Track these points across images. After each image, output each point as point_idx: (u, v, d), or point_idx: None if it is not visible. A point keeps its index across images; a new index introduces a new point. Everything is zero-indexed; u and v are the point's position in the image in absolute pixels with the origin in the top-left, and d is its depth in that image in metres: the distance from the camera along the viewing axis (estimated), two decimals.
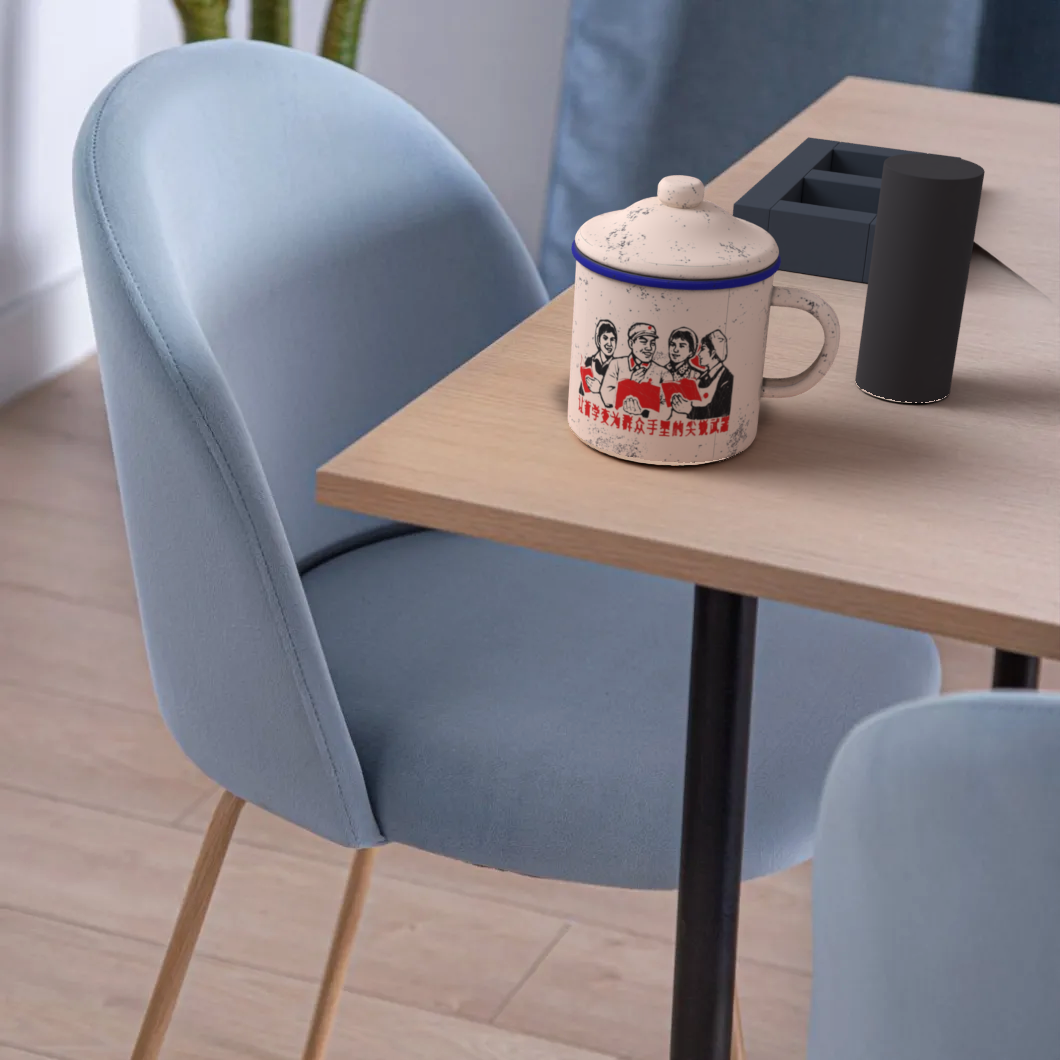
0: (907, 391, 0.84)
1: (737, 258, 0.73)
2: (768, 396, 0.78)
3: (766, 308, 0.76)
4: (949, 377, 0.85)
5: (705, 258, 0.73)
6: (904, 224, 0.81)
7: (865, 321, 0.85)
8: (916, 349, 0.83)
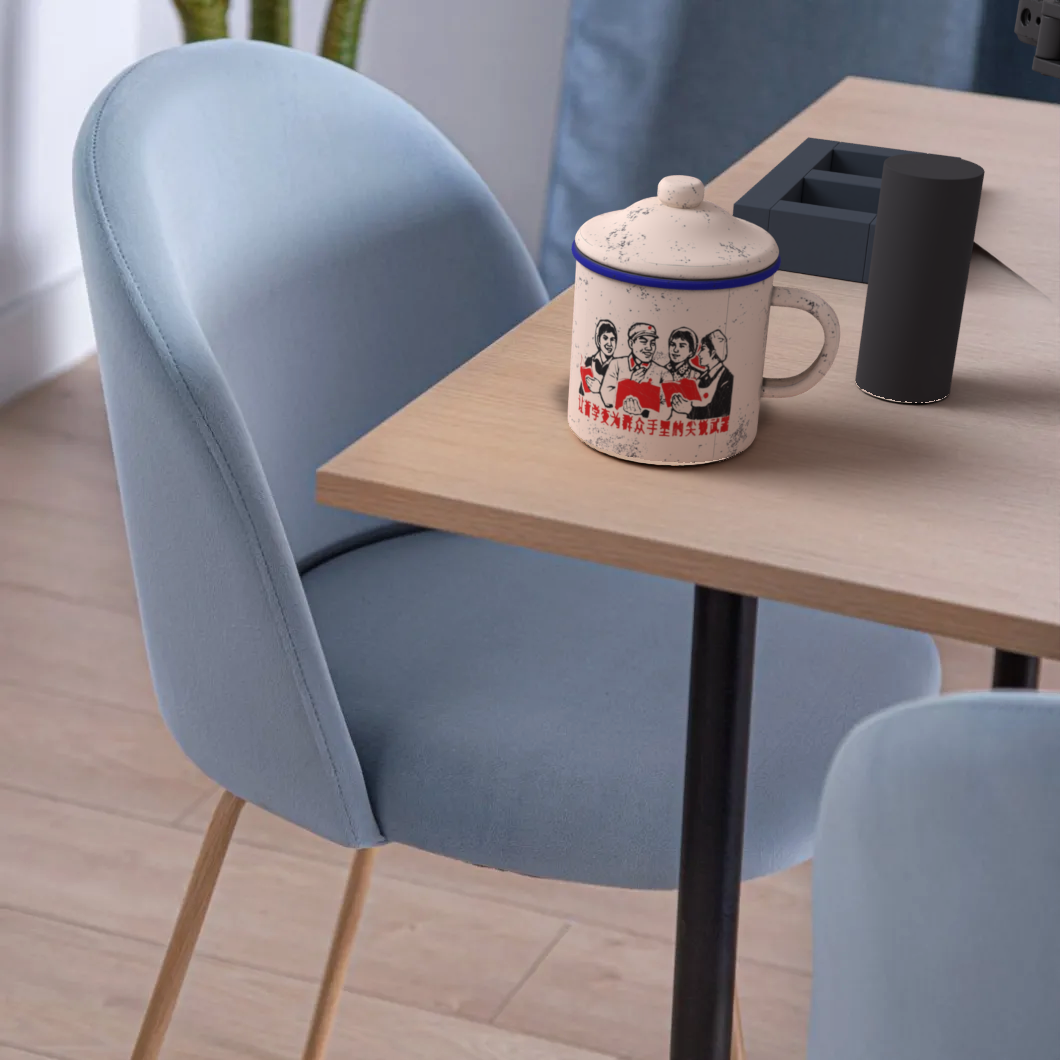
0: (907, 391, 0.84)
1: (737, 258, 0.73)
2: (768, 396, 0.78)
3: (766, 308, 0.76)
4: (949, 377, 0.85)
5: (705, 258, 0.73)
6: (904, 224, 0.81)
7: (865, 321, 0.85)
8: (916, 349, 0.83)
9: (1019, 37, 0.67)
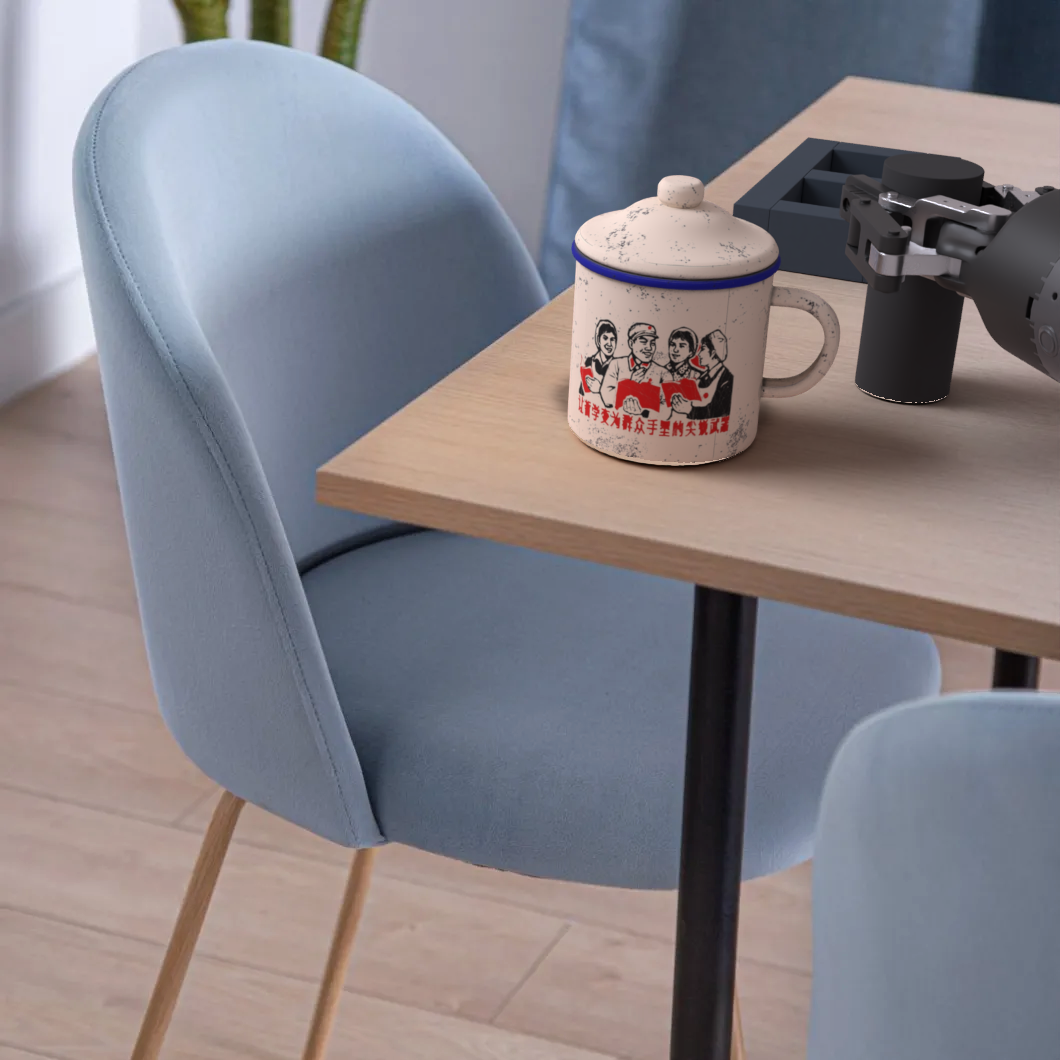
0: (906, 390, 0.84)
1: (737, 258, 0.73)
2: (768, 396, 0.78)
3: (766, 308, 0.76)
4: (949, 377, 0.85)
5: (705, 258, 0.73)
6: (904, 224, 0.81)
7: (865, 321, 0.85)
8: (916, 349, 0.83)
9: None
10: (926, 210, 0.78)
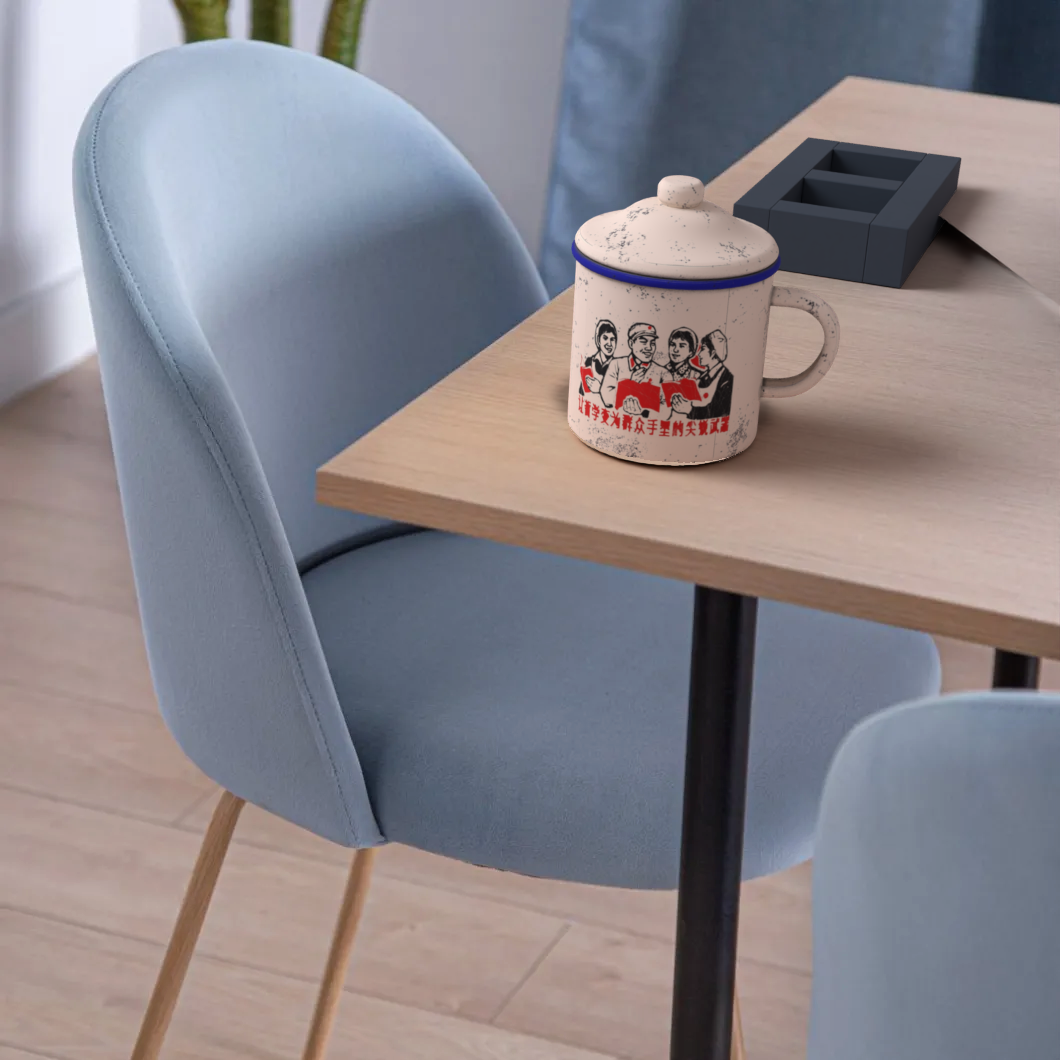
0: None
1: (737, 258, 0.73)
2: (768, 396, 0.78)
3: (766, 308, 0.76)
4: None
5: (705, 258, 0.73)
6: None
7: None
8: None
9: None
10: None
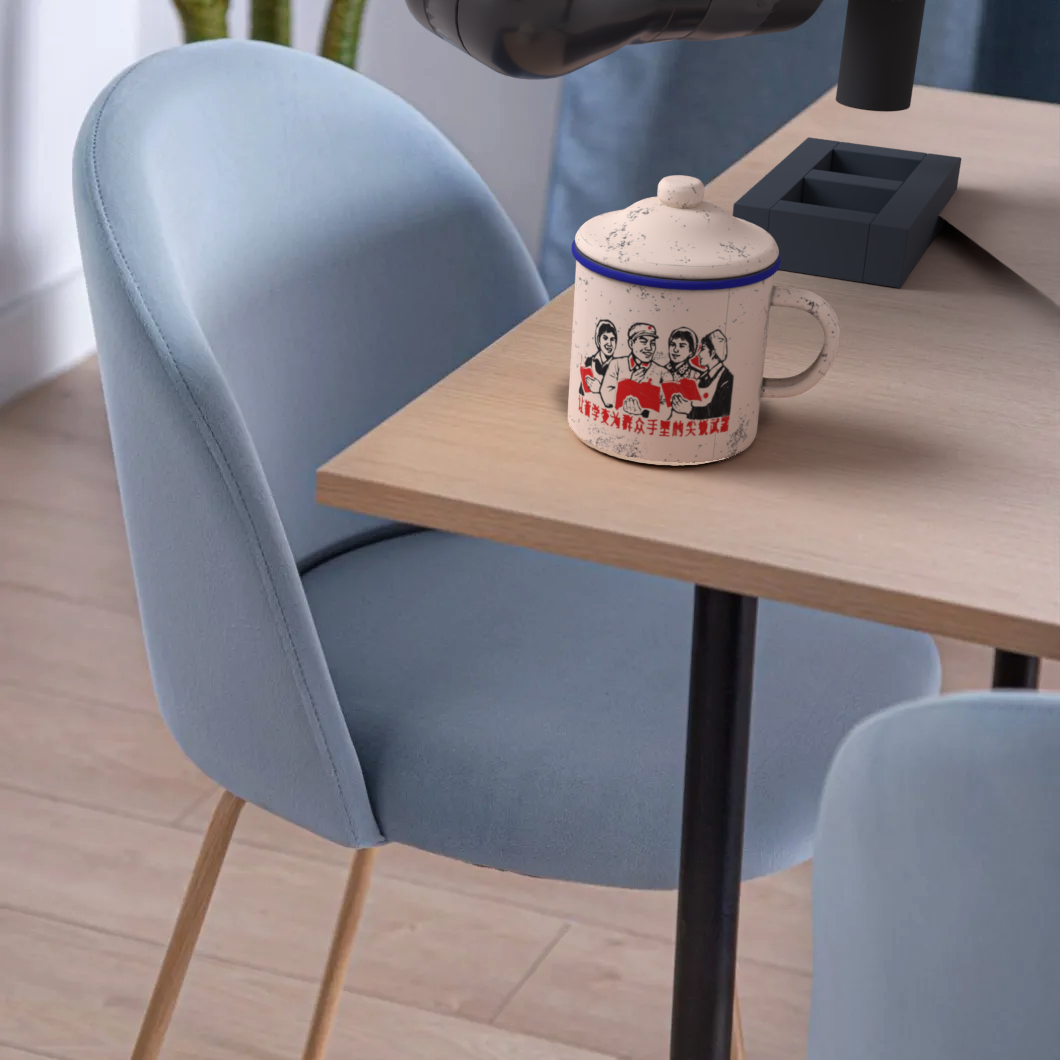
0: (839, 92, 1.09)
1: (737, 258, 0.73)
2: (768, 396, 0.78)
3: (766, 308, 0.76)
4: (872, 93, 1.07)
5: (705, 258, 0.73)
6: None
7: None
8: (845, 57, 1.08)
9: None
10: None
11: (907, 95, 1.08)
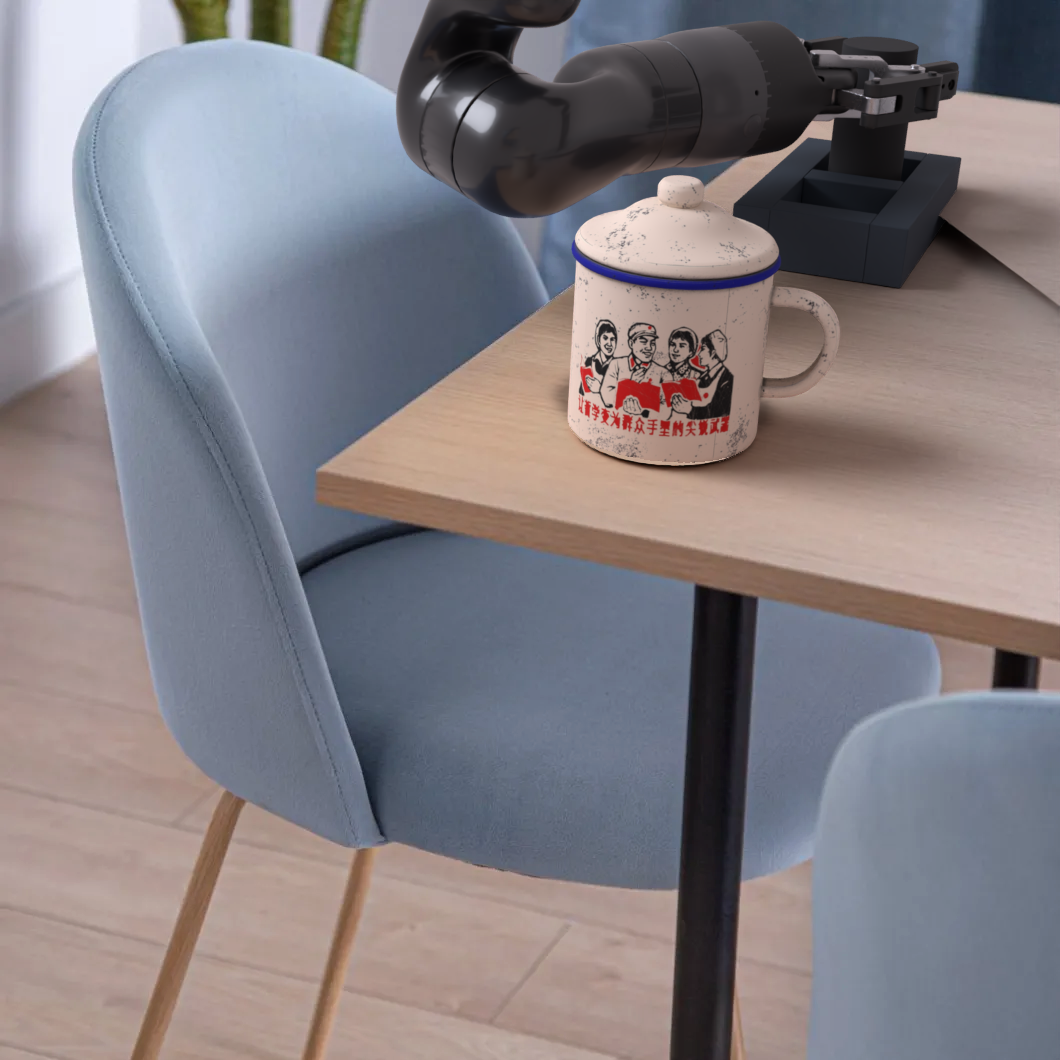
0: None
1: (737, 258, 0.73)
2: (768, 396, 0.78)
3: (766, 308, 0.76)
4: None
5: (705, 258, 0.73)
6: None
7: None
8: None
9: None
10: None
11: None
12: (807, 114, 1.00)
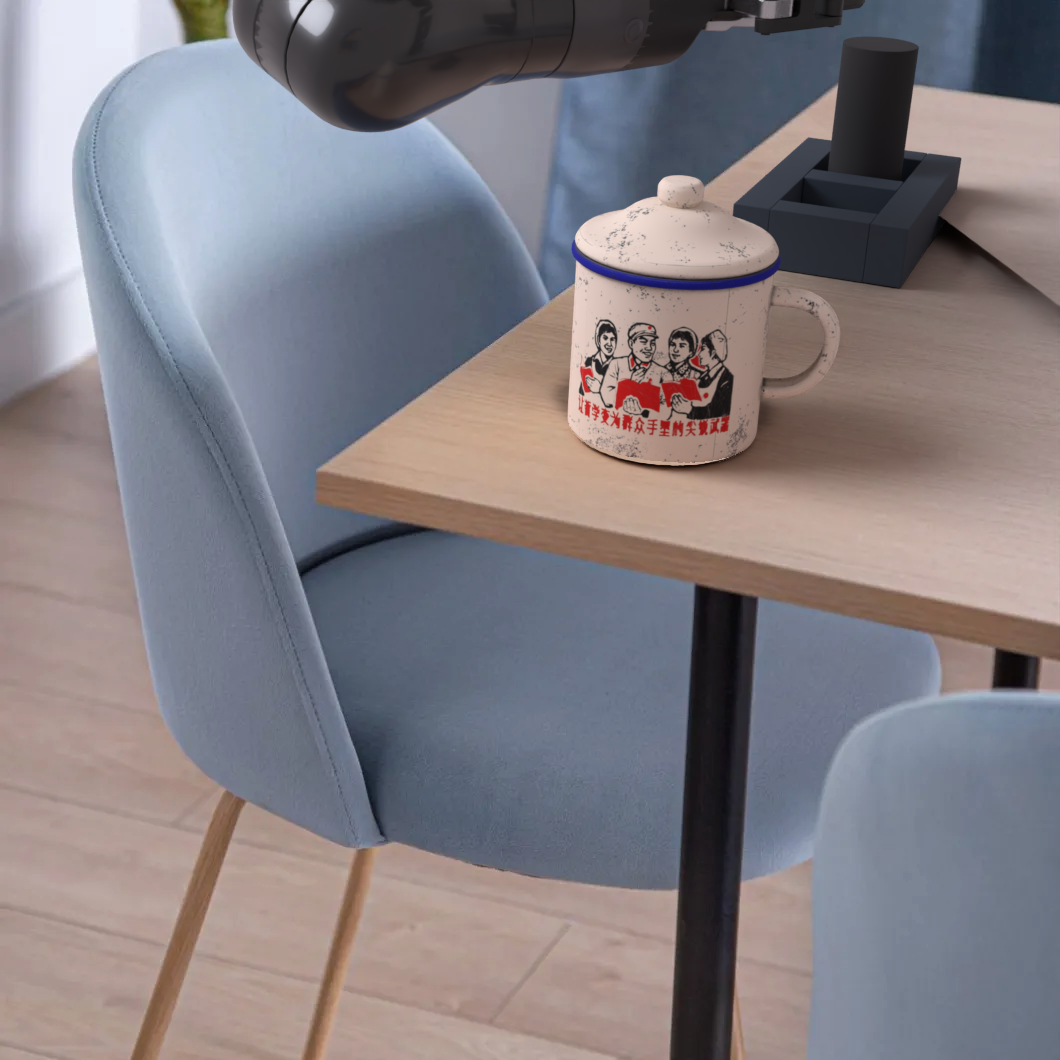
0: None
1: (737, 258, 0.73)
2: (768, 396, 0.78)
3: (766, 308, 0.76)
4: None
5: (705, 258, 0.73)
6: None
7: None
8: None
9: None
10: None
11: None
12: (696, 20, 0.92)
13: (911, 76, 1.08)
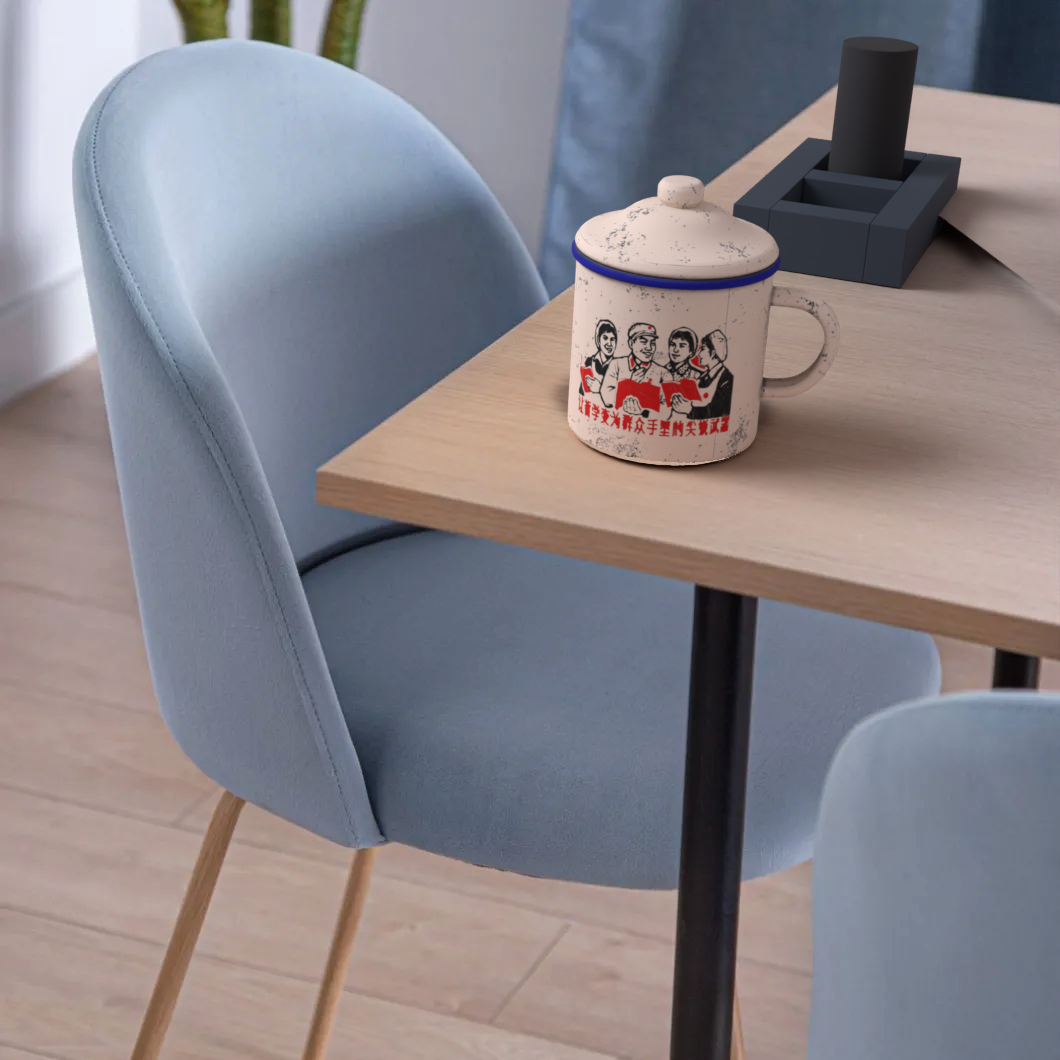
0: None
1: (737, 258, 0.73)
2: (768, 396, 0.78)
3: (766, 308, 0.76)
4: None
5: (705, 258, 0.73)
6: None
7: None
8: None
9: None
10: None
11: None
12: None
13: (911, 76, 1.08)
